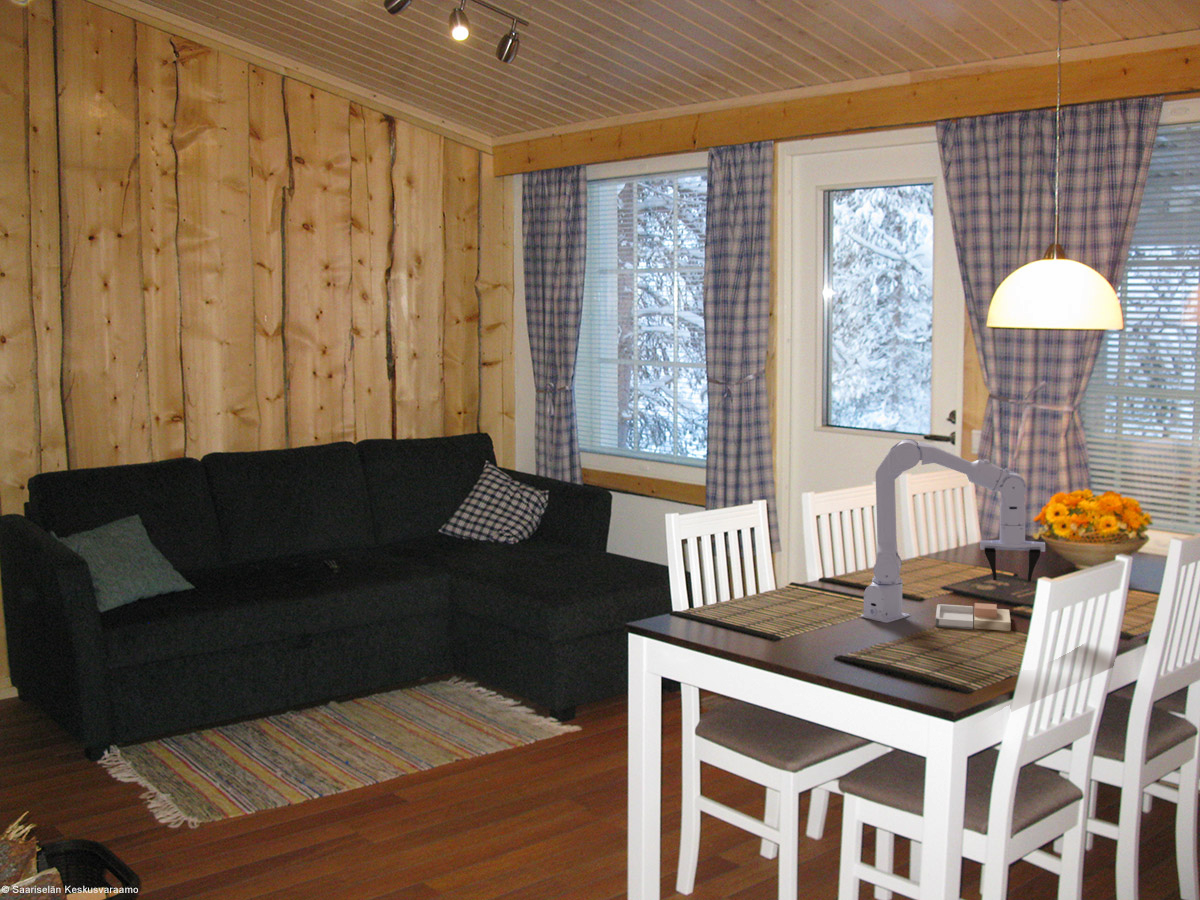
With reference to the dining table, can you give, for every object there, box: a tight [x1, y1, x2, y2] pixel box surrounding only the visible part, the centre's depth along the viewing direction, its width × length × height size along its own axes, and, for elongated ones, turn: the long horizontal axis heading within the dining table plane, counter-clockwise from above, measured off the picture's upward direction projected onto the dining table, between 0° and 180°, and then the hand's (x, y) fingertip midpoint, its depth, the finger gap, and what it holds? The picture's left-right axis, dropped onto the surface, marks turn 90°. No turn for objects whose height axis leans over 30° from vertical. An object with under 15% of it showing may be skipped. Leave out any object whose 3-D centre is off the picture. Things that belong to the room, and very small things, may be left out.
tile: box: [973, 602, 998, 618], centre depth 266 cm, size 5×5×2 cm
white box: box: [973, 606, 1012, 632], centre depth 266 cm, size 8×12×2 cm, turn 162°
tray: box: [935, 603, 974, 630], centre depth 269 cm, size 8×14×2 cm, turn 162°
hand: (1011, 580), depth 264 cm, fingers open, 7 cm apart
